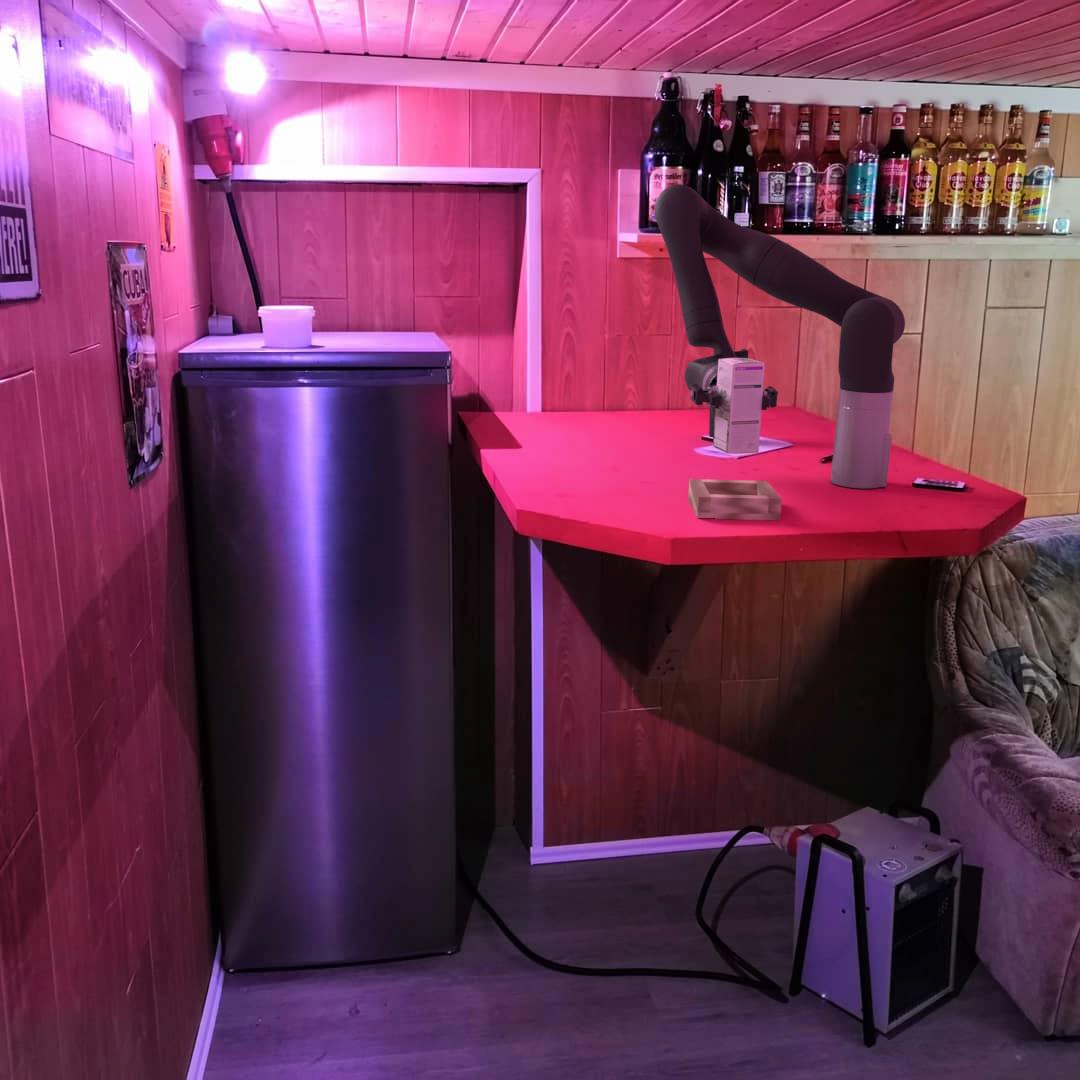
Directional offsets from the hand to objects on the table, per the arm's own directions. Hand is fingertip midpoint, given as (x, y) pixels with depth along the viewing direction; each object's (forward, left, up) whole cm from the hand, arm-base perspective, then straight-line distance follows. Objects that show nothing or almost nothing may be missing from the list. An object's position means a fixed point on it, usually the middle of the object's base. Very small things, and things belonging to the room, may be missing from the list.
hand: (741, 402), depth 165 cm
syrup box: (0, -2, -8) cm, 8 cm away
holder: (0, -2, -18) cm, 18 cm away
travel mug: (-8, -66, -18) cm, 69 cm away
